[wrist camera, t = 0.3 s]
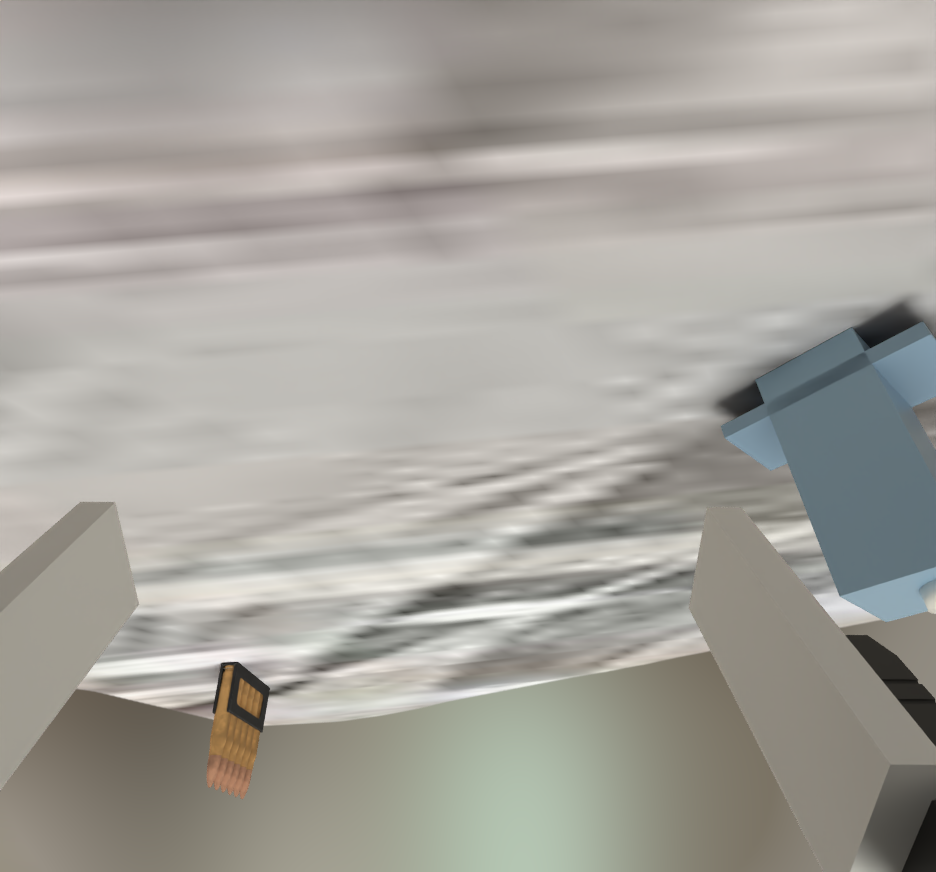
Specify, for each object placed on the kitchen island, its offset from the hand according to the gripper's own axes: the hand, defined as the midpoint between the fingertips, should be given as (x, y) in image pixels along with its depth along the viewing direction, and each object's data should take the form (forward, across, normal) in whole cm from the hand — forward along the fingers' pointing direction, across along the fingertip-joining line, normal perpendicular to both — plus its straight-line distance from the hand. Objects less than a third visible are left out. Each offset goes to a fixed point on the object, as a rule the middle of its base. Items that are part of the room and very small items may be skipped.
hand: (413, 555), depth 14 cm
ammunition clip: (+45, -24, -46) cm, 69 cm away
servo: (+20, +20, -2) cm, 28 cm away
